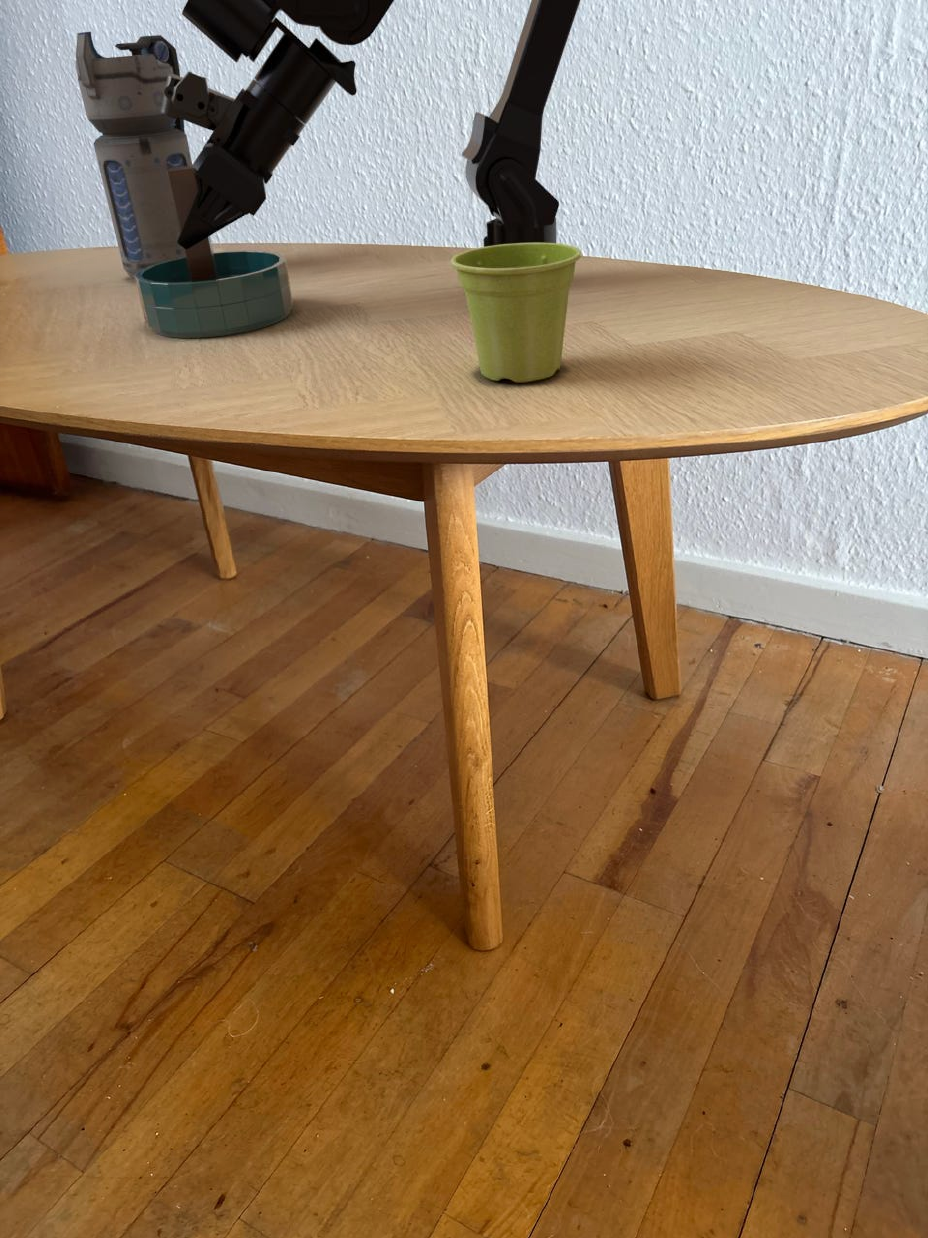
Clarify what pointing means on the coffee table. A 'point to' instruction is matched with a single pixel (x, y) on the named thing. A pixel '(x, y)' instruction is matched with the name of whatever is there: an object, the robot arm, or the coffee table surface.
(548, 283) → the plant pot
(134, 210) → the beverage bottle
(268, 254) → the bowl
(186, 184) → the brown post on base
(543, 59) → the robot arm
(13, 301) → the coffee table surface
